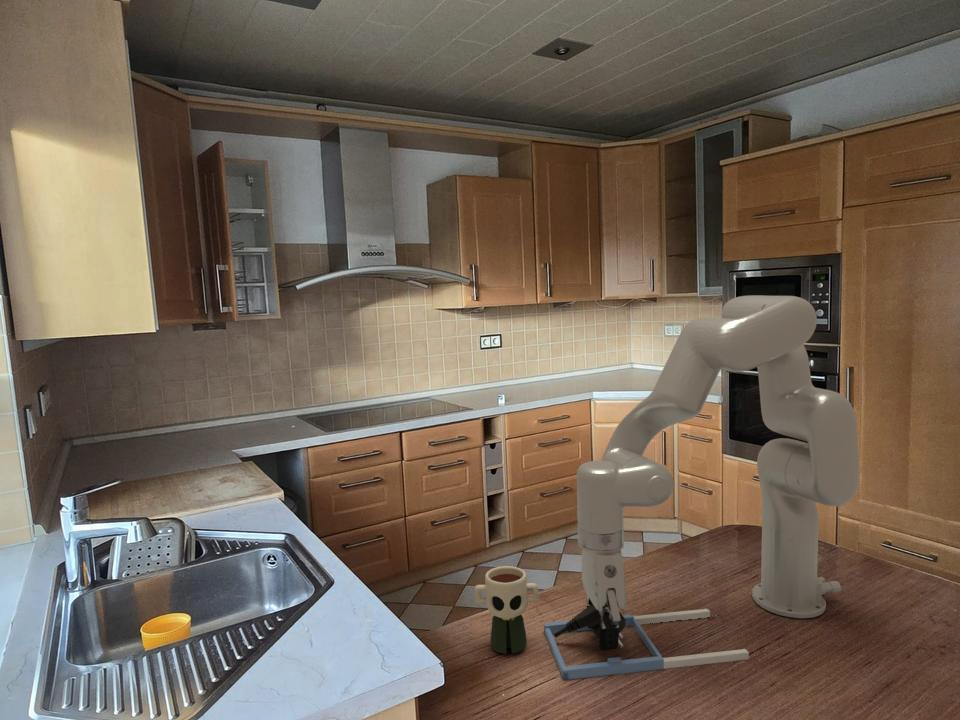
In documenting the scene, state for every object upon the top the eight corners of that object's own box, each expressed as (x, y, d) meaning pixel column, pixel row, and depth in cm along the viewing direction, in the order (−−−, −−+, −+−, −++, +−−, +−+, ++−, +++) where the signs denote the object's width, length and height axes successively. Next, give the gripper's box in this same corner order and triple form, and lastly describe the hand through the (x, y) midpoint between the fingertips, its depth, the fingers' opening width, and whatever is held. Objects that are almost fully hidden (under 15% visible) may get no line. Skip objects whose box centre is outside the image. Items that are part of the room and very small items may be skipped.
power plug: (554, 623, 110) (609, 590, 107) (579, 657, 110) (635, 626, 106) (550, 640, 104) (608, 606, 101) (577, 677, 104) (636, 644, 101)
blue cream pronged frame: (707, 614, 114) (707, 603, 114) (748, 659, 101) (748, 646, 100) (544, 631, 111) (543, 620, 111) (563, 680, 97) (563, 667, 97)
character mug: (476, 659, 103) (473, 584, 102) (478, 636, 110) (474, 566, 109) (541, 657, 103) (538, 582, 102) (539, 634, 110) (536, 564, 109)
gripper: (641, 556, 95) (642, 665, 97) (605, 515, 112) (607, 609, 114) (594, 560, 94) (596, 671, 96) (565, 519, 111) (567, 613, 113)
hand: (602, 636), depth 105 cm, fingers closed on power plug, 5 cm apart
